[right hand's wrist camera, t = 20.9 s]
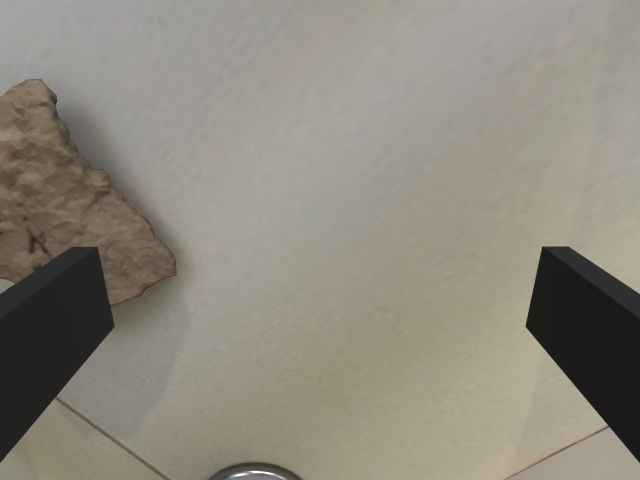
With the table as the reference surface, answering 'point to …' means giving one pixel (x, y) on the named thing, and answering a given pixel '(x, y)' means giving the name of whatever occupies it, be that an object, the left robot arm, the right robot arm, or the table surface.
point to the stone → (66, 202)
